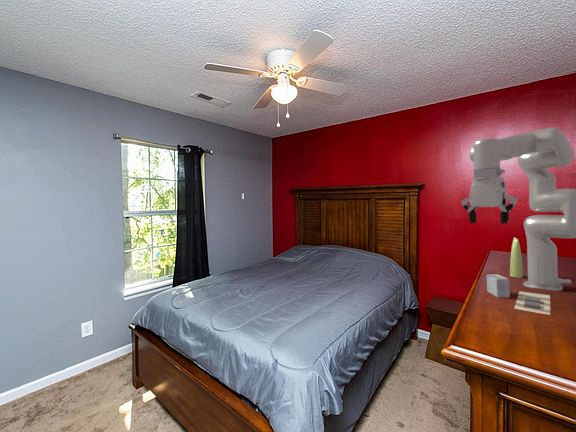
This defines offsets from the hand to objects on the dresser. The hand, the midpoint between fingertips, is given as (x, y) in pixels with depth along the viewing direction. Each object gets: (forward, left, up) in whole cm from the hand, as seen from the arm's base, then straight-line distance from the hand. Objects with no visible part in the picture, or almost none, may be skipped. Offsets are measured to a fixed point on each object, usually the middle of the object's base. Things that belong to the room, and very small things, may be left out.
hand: (487, 223), depth 96 cm
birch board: (-17, -6, -31) cm, 36 cm away
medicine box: (-10, -14, -32) cm, 36 cm away
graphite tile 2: (-17, -6, -30) cm, 35 cm away
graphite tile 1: (-14, -1, -30) cm, 33 cm away
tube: (-34, -47, -31) cm, 66 cm away
